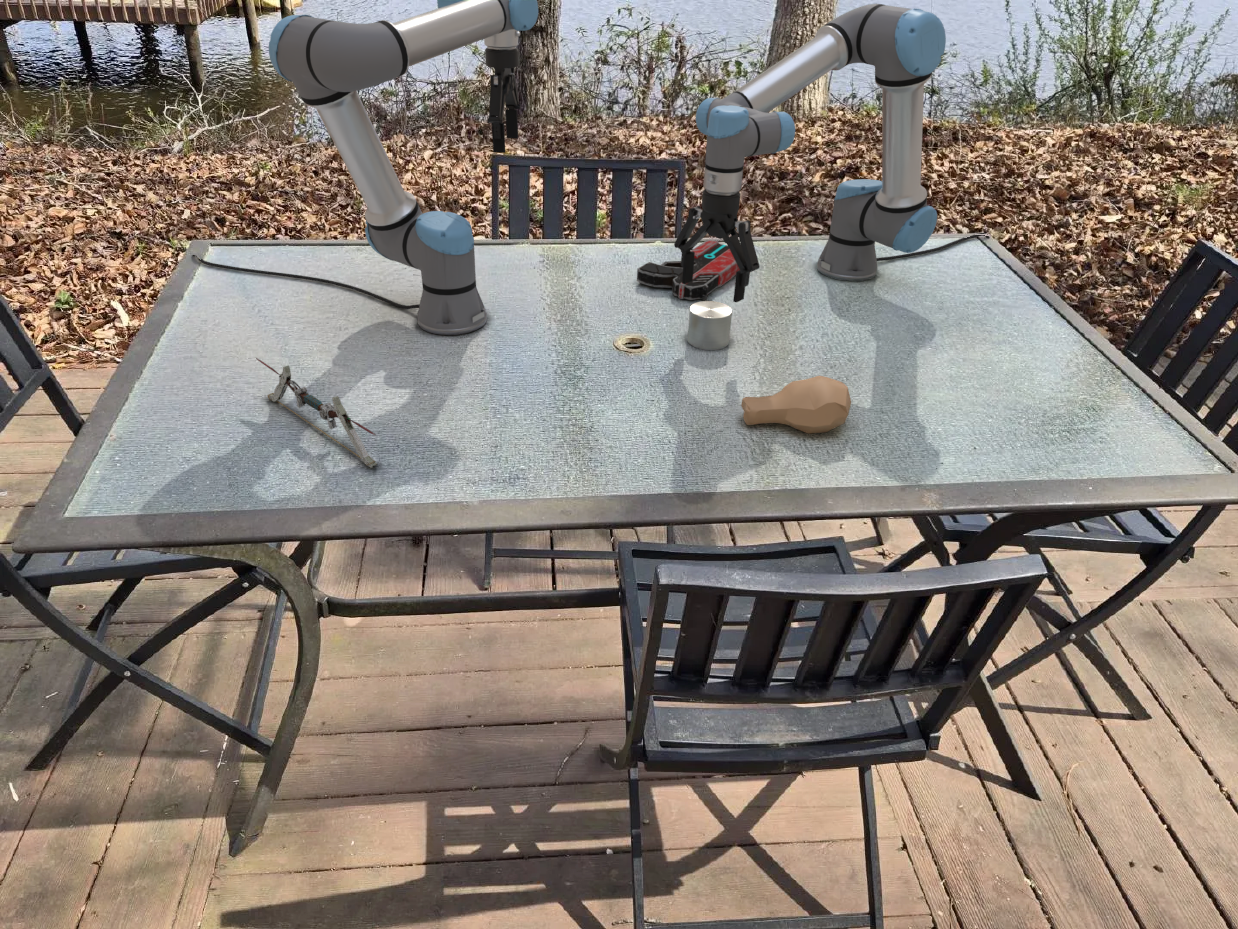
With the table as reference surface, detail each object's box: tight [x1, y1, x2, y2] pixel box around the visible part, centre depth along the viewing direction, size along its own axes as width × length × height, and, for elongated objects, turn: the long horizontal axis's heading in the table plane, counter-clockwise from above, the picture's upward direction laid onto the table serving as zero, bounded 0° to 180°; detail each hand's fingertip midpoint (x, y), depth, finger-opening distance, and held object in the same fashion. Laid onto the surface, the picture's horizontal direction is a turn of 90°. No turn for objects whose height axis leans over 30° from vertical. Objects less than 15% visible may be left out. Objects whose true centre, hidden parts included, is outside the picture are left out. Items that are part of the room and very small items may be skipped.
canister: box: [686, 300, 733, 351], centre depth 190 cm, size 9×9×8 cm
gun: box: [636, 239, 740, 301], centre depth 222 cm, size 4×31×19 cm
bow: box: [255, 357, 378, 469], centre depth 154 cm, size 39×2×10 cm, turn 47°
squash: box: [740, 375, 852, 434], centre depth 161 cm, size 11×20×9 cm, turn 90°
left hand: (506, 144), depth 209 cm, fingers open, 13 cm apart
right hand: (712, 291), depth 186 cm, fingers open, 13 cm apart
